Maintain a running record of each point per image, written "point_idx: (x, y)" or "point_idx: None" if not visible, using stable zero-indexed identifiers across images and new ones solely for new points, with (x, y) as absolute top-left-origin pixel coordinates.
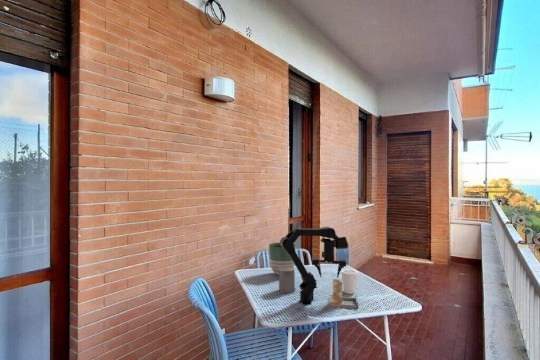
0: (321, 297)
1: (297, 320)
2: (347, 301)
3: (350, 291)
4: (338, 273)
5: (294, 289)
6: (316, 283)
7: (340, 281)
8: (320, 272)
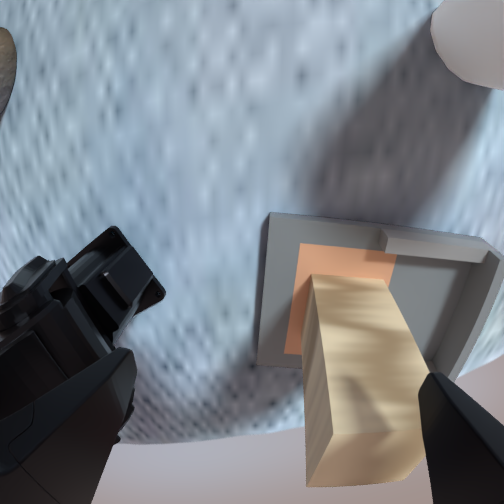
0: (213, 149)
1: (140, 441)
2: (421, 272)
3: (490, 87)
4: (443, 478)
5: (6, 72)
6: (129, 418)
7: (397, 471)
8: (102, 461)
